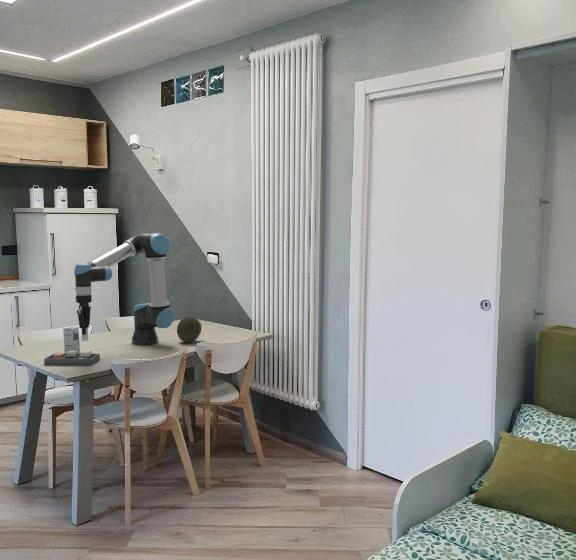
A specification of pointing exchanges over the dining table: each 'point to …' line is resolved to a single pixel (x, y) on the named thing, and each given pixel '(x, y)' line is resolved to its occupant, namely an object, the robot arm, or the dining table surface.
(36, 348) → the dining table surface
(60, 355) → the terracotta key
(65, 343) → the syrup box
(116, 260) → the robot arm
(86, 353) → the ivory key
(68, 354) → the sage key
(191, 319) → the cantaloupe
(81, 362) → the base
